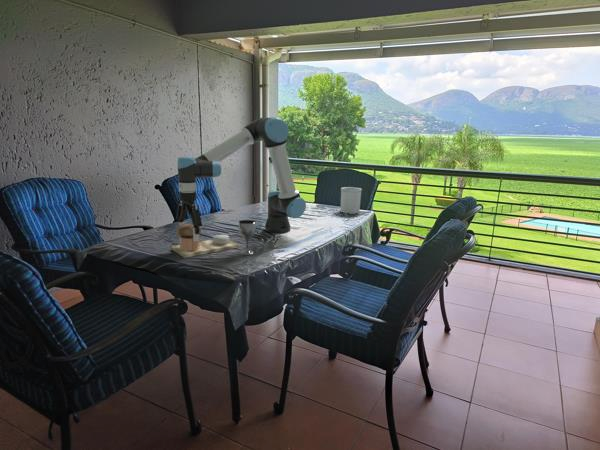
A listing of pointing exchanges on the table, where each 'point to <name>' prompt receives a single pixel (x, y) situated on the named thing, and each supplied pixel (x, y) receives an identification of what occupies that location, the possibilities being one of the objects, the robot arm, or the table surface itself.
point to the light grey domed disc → (221, 239)
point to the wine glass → (247, 233)
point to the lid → (186, 230)
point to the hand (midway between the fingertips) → (189, 238)
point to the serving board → (205, 248)
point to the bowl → (188, 243)
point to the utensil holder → (350, 200)
